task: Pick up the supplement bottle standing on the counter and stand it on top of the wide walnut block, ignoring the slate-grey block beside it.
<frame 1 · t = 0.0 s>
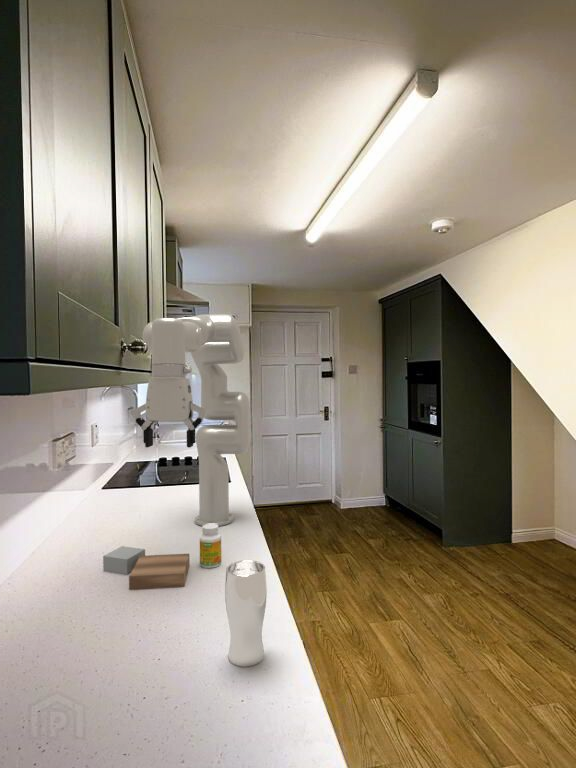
hand: (169, 446, 108), 31 cm above the worktop, tool pointing down, fingers open, 9 cm apart
slate block: (124, 568, 116), on the worktop
walnut block: (161, 576, 110), on the worktop
supplement bottle: (210, 565, 118), on the worktop
beer glass: (246, 657, 79), on the worktop
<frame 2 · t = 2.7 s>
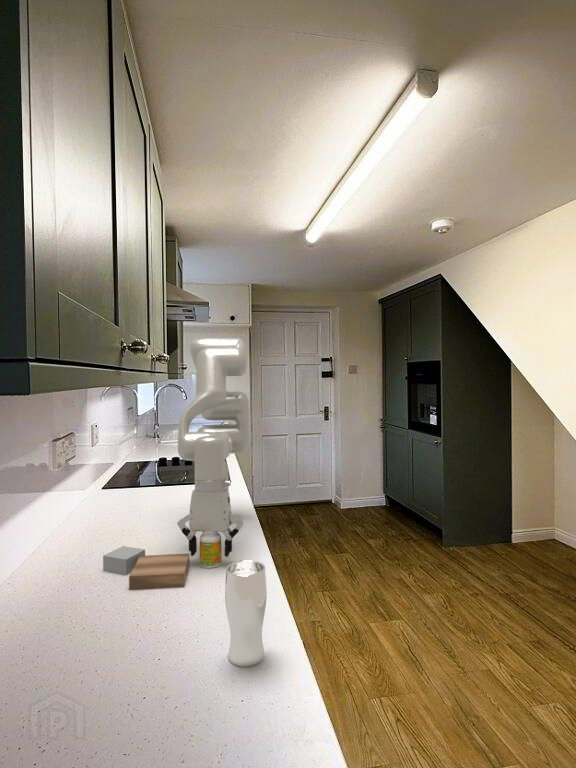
hand: (210, 554, 117), 3 cm above the worktop, tool pointing down, fingers open, 8 cm apart
nothing on the worktop moved.
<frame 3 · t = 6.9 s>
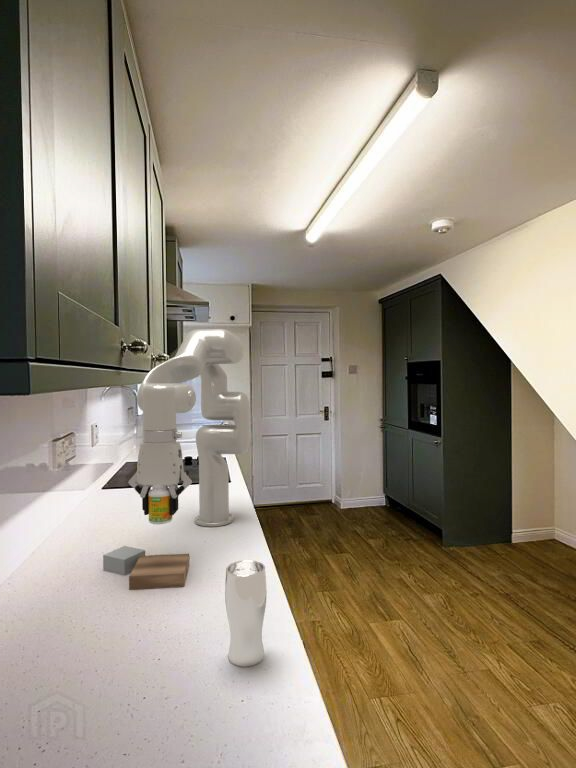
hand: (160, 512, 110), 15 cm above the worktop, tool pointing down, fingers closed on supplement bottle, 5 cm apart
supplement bottle: (160, 522, 110), point 13 cm above the worktop, touching gripper
everything else where it was.
when the fingers open (5 cm above the worktop, at t = 10.6 s): supplement bottle stays where it is, resting on walnut block.
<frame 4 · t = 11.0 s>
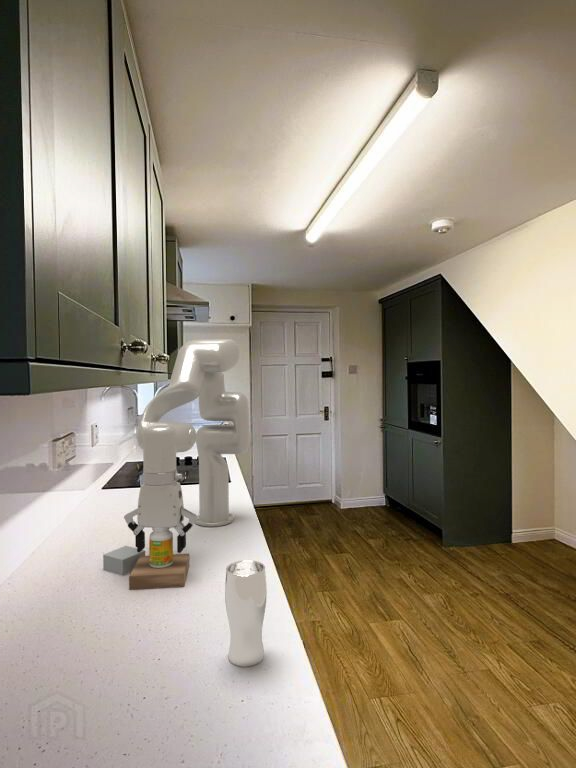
hand: (160, 550, 110), 6 cm above the worktop, tool pointing down, fingers open, 9 cm apart
supplement bottle: (161, 564, 110), point 3 cm above the worktop, touching walnut block
everything else where it was.
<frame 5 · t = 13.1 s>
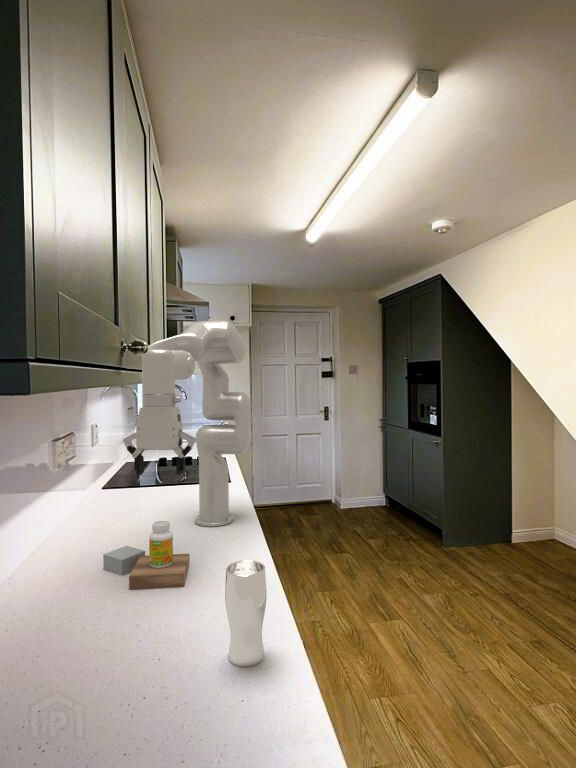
hand: (159, 473, 111), 24 cm above the worktop, tool pointing down, fingers open, 9 cm apart
nothing on the worktop moved.
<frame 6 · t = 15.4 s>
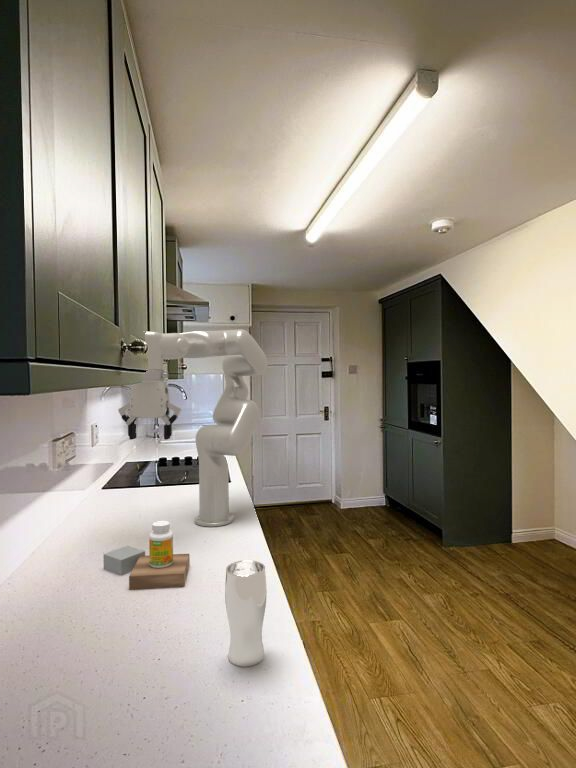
hand: (150, 438, 128), 30 cm above the worktop, tool pointing down, fingers open, 9 cm apart
nothing on the worktop moved.
at the end: supplement bottle inside the target area on the walnut block (0.2 cm from its centre), point 2.8 cm above the walnut block's base; supplement bottle tilted 0°; the gripper is holding nothing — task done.
